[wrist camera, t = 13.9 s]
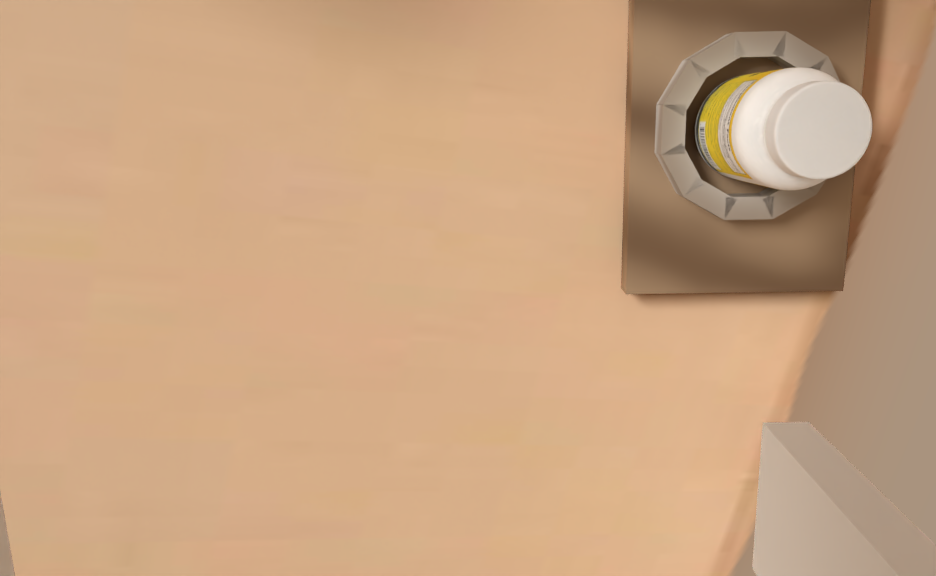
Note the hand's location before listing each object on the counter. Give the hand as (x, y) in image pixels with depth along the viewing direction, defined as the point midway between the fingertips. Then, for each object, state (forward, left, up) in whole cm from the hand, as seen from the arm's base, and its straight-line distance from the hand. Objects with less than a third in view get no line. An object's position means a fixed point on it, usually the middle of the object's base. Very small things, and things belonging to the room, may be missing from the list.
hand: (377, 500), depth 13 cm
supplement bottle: (-5, +16, -30) cm, 35 cm away
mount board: (-5, +16, -32) cm, 36 cm away
